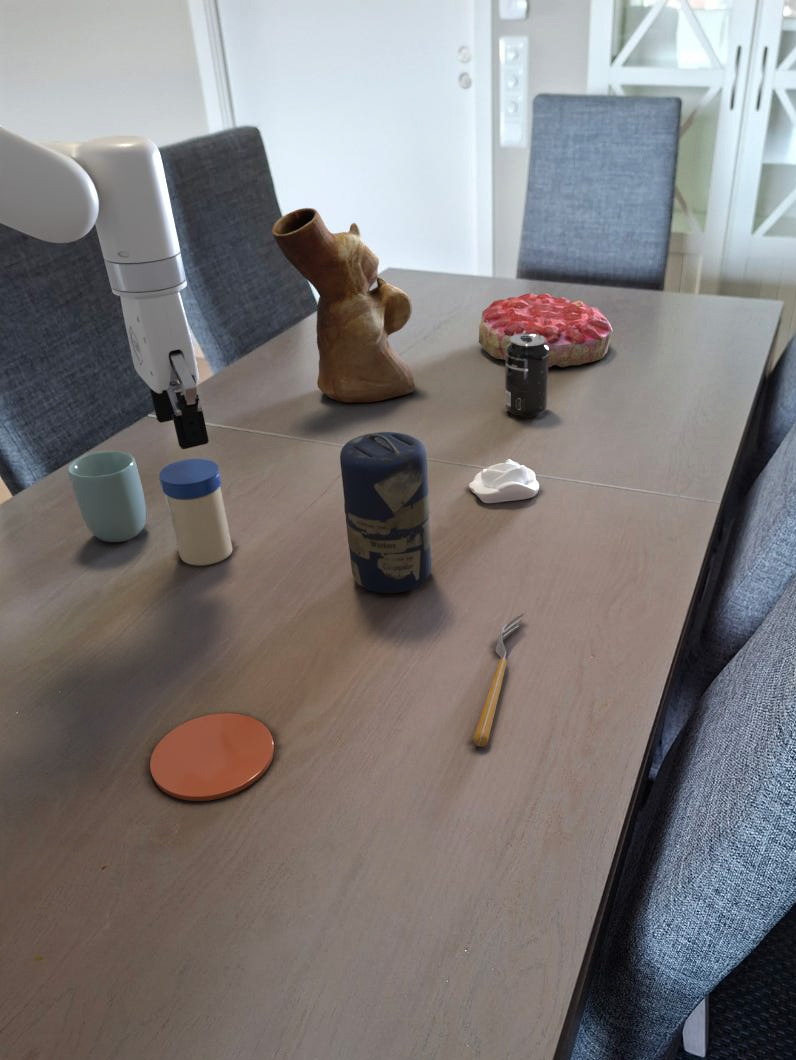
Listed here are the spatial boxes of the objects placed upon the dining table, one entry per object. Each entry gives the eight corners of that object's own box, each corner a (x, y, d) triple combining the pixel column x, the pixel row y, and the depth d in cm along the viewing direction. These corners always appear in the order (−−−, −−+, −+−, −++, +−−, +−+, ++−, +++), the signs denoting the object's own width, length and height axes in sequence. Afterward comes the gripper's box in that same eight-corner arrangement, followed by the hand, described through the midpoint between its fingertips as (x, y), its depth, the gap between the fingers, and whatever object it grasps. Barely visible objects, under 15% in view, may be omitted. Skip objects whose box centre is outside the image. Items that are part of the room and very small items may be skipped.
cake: (471, 324, 182) (473, 284, 177) (592, 324, 185) (597, 285, 180) (485, 375, 163) (487, 331, 158) (620, 374, 166) (626, 332, 161)
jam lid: (159, 501, 104) (155, 486, 103) (163, 476, 109) (160, 461, 108) (220, 495, 105) (217, 480, 104) (222, 470, 110) (219, 456, 109)
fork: (493, 738, 82) (524, 611, 98) (473, 732, 82) (508, 606, 98) (486, 756, 84) (518, 628, 99) (467, 750, 84) (502, 623, 99)
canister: (366, 607, 102) (351, 461, 92) (342, 567, 109) (326, 427, 99) (444, 588, 105) (439, 445, 95) (416, 550, 112) (408, 413, 102)
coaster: (146, 810, 77) (144, 805, 77) (156, 726, 86) (155, 721, 86) (275, 790, 79) (274, 785, 79) (273, 710, 88) (272, 705, 88)
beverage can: (537, 401, 152) (539, 330, 145) (552, 416, 146) (556, 343, 139) (499, 406, 150) (499, 334, 143) (513, 422, 145) (514, 348, 138)
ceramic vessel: (432, 394, 155) (424, 204, 137) (316, 424, 145) (292, 223, 127) (386, 368, 165) (373, 189, 148) (276, 394, 155) (248, 205, 138)
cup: (106, 518, 120) (86, 448, 114) (162, 521, 119) (145, 451, 113) (77, 547, 114) (55, 475, 108) (136, 551, 113) (116, 479, 107)
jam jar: (178, 568, 109) (159, 489, 103) (181, 542, 114) (163, 465, 108) (232, 562, 110) (216, 484, 104) (233, 536, 116) (218, 460, 109)
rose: (513, 484, 117) (453, 466, 122) (512, 515, 120) (454, 495, 124) (553, 457, 124) (495, 441, 128) (552, 486, 126) (495, 469, 131)
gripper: (90, 261, 97) (130, 414, 108) (131, 299, 85) (172, 468, 96) (159, 251, 100) (191, 401, 111) (208, 286, 88) (240, 451, 99)
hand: (182, 431), depth 103 cm, fingers open, 8 cm apart
